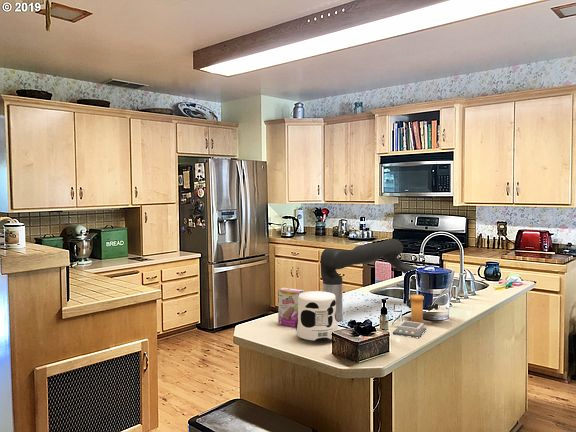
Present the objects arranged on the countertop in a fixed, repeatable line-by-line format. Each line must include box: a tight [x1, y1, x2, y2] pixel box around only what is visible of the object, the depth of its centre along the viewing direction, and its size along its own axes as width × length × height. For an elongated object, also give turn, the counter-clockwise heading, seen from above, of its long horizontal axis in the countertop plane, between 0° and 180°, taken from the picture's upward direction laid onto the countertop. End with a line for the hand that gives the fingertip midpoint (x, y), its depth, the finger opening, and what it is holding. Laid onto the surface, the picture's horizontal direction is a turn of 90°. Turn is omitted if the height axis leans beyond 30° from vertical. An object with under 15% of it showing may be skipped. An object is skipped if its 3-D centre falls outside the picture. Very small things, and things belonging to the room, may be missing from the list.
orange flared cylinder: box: [409, 293, 424, 323], centre depth 210 cm, size 6×6×14 cm
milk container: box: [295, 290, 339, 343], centre depth 193 cm, size 17×17×18 cm
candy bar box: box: [277, 287, 305, 329], centre depth 211 cm, size 11×5×16 cm, turn 59°
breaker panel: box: [392, 320, 427, 339], centre depth 201 cm, size 11×12×3 cm
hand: (419, 307), depth 213 cm, fingers open, 8 cm apart
